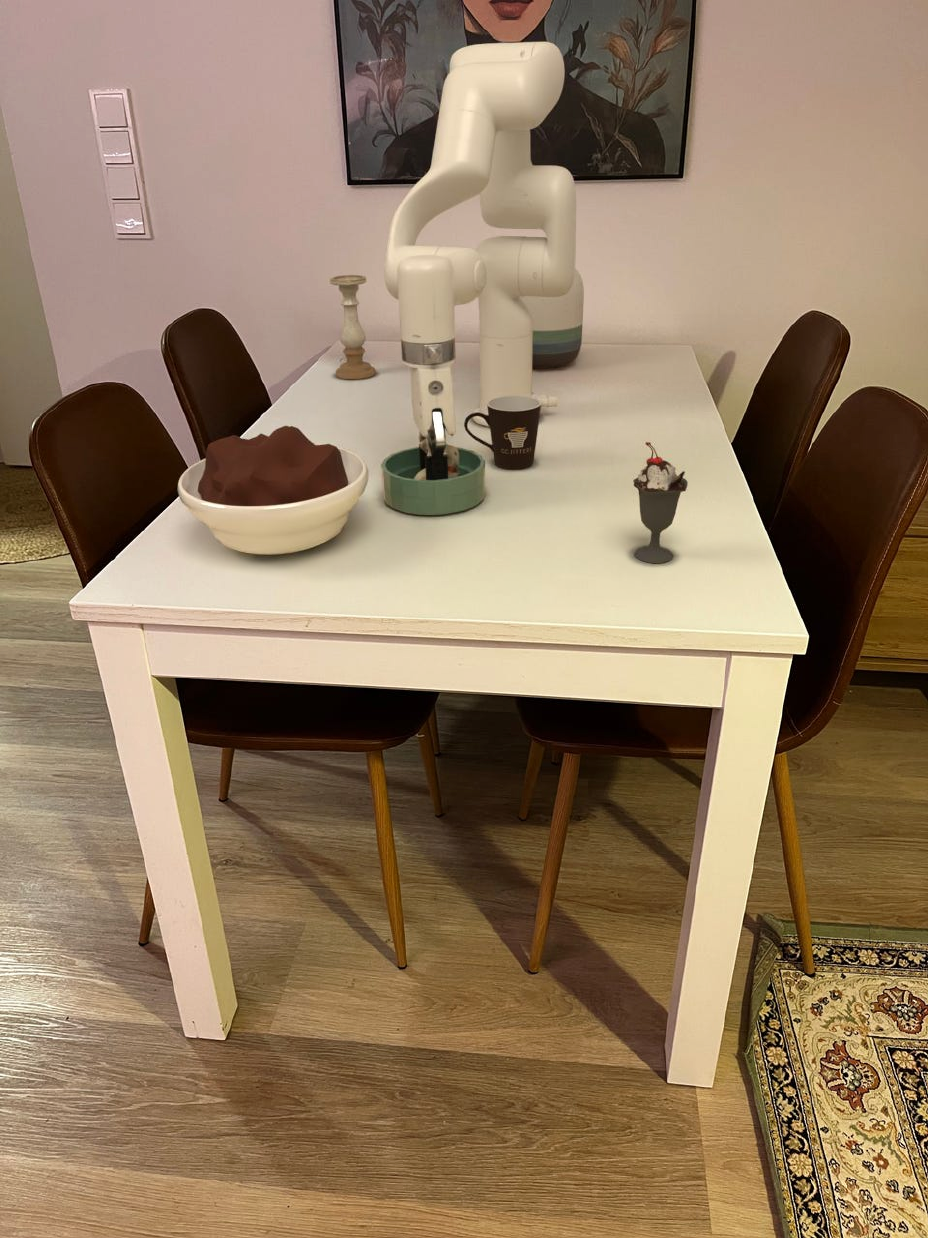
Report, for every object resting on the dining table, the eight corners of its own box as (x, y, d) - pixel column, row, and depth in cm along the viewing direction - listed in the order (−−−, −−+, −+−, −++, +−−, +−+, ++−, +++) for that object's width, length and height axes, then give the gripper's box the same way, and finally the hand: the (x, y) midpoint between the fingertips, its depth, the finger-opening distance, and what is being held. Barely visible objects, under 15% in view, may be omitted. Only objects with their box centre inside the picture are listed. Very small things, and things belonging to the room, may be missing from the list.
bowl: (472, 475, 144) (472, 441, 142) (495, 511, 131) (495, 475, 129) (378, 484, 142) (375, 450, 139) (391, 522, 129) (389, 485, 126)
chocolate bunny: (462, 499, 134) (460, 434, 129) (409, 502, 134) (405, 437, 129) (459, 486, 139) (457, 422, 134) (408, 488, 139) (404, 425, 134)
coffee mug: (545, 456, 151) (547, 397, 146) (532, 474, 144) (533, 412, 139) (479, 450, 154) (478, 392, 150) (463, 467, 147) (461, 407, 142)
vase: (531, 351, 215) (532, 242, 203) (594, 360, 206) (599, 247, 194) (491, 367, 203) (490, 252, 191) (556, 377, 194) (559, 257, 182)
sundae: (621, 545, 120) (629, 436, 113) (671, 543, 121) (682, 434, 113) (634, 568, 115) (643, 454, 107) (686, 565, 115) (698, 451, 108)
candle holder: (383, 372, 201) (377, 275, 191) (359, 381, 195) (351, 282, 185) (352, 367, 205) (344, 272, 195) (327, 376, 199) (318, 279, 189)
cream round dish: (343, 584, 112) (331, 468, 105) (156, 572, 116) (132, 460, 109) (392, 507, 134) (385, 406, 126) (232, 499, 138) (216, 401, 130)
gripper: (467, 364, 119) (470, 493, 129) (443, 335, 134) (447, 454, 143) (411, 368, 118) (418, 499, 127) (393, 339, 133) (400, 458, 142)
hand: (433, 473), depth 135 cm, fingers closed on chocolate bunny, 4 cm apart
